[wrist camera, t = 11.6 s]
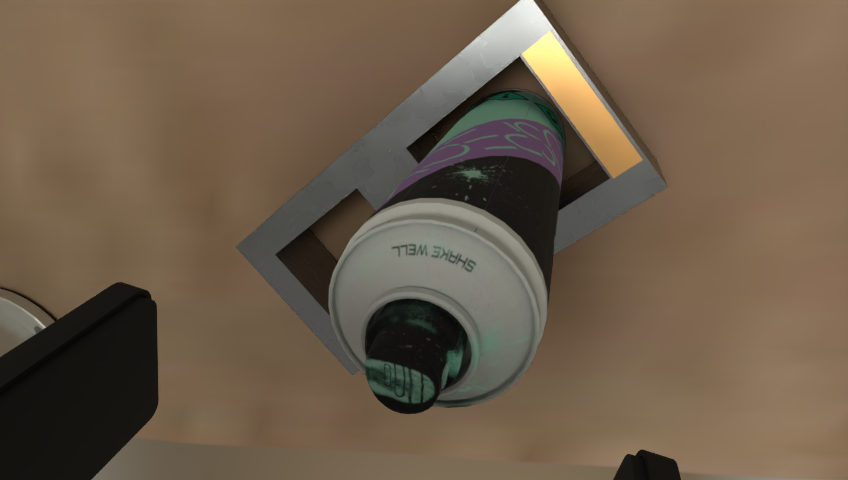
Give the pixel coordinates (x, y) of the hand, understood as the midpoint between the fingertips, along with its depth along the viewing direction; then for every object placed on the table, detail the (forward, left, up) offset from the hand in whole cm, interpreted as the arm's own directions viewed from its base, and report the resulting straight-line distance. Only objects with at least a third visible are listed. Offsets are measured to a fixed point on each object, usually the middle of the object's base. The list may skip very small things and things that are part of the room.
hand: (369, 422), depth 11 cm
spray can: (0, 0, -21) cm, 21 cm away
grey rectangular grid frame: (-4, 0, -21) cm, 21 cm away
